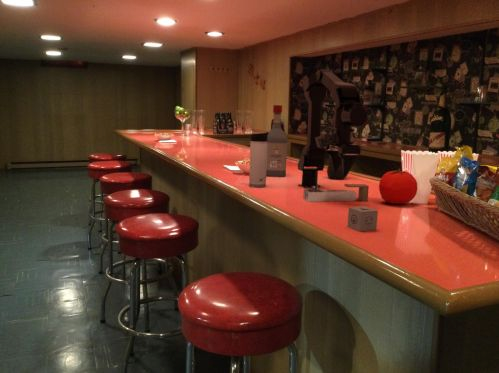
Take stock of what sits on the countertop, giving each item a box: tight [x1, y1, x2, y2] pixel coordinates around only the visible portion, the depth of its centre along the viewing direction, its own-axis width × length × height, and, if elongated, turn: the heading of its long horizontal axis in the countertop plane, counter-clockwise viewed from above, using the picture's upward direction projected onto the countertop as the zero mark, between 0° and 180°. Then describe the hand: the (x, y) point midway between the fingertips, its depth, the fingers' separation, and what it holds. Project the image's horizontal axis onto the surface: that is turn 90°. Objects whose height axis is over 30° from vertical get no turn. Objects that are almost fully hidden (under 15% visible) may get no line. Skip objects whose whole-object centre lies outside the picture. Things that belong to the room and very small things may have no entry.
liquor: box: [266, 104, 288, 178], centre depth 198 cm, size 9×9×30 cm
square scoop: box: [303, 188, 357, 203], centre depth 149 cm, size 16×6×3 cm, turn 98°
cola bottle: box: [326, 121, 347, 181], centre depth 195 cm, size 8×8×30 cm
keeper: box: [344, 183, 370, 202], centre depth 151 cm, size 7×4×5 cm, turn 98°
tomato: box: [378, 167, 418, 205], centre depth 146 cm, size 12×12×11 cm
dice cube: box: [347, 205, 379, 233], centre depth 114 cm, size 5×5×5 cm
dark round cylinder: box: [310, 186, 319, 192], centre depth 149 cm, size 2×2×4 cm
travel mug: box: [248, 131, 270, 188], centre depth 170 cm, size 6×7×20 cm
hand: (339, 173), depth 148 cm, fingers open, 9 cm apart
